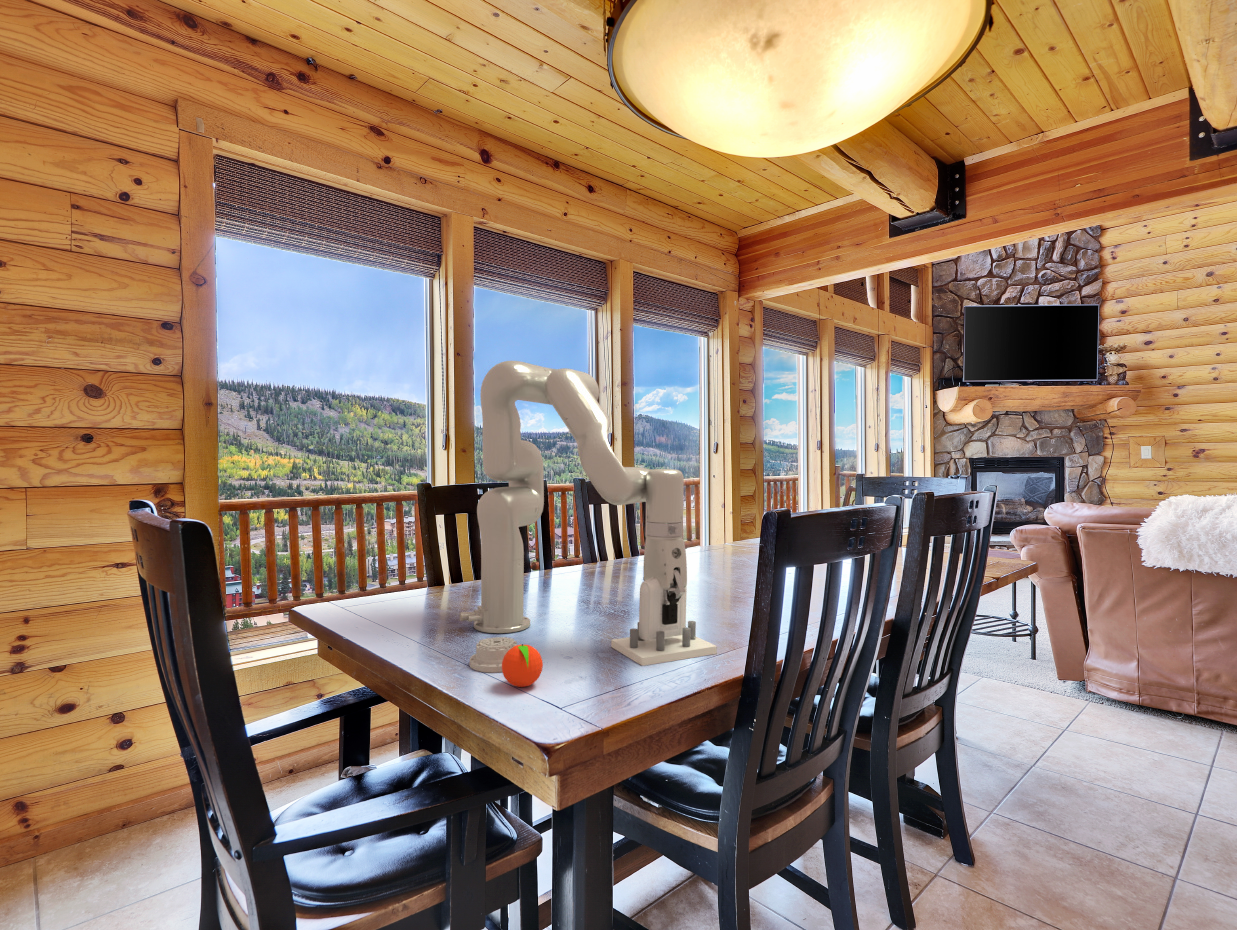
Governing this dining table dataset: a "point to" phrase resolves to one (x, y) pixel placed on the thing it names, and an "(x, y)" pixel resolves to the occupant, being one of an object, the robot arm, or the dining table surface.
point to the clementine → (522, 665)
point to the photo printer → (658, 611)
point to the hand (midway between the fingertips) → (662, 619)
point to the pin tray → (666, 655)
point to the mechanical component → (491, 654)
